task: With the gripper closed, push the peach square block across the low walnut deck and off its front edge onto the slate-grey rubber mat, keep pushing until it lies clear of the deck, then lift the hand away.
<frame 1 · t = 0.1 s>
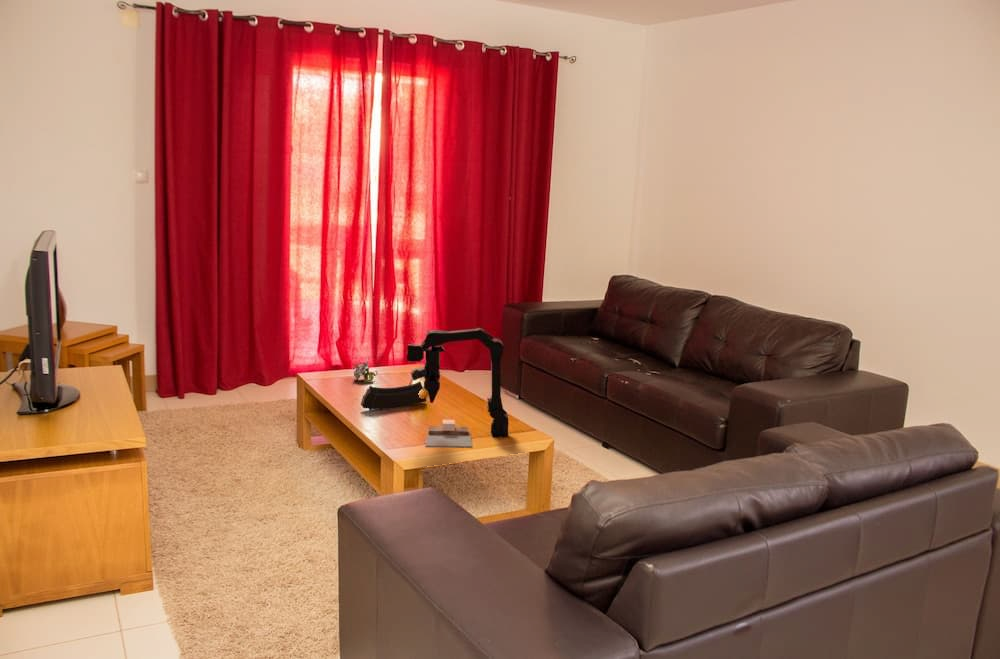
hand: (431, 399, 329), 15 cm above the table, tool pointing down, fingers open, 9 cm apart
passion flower: (364, 380, 406), on the table
deck: (448, 433, 334), on the table
peach square block: (448, 428, 333), point 2 cm above the table, touching deck
mat: (448, 441, 324), on the table
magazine: (394, 408, 365), on the table
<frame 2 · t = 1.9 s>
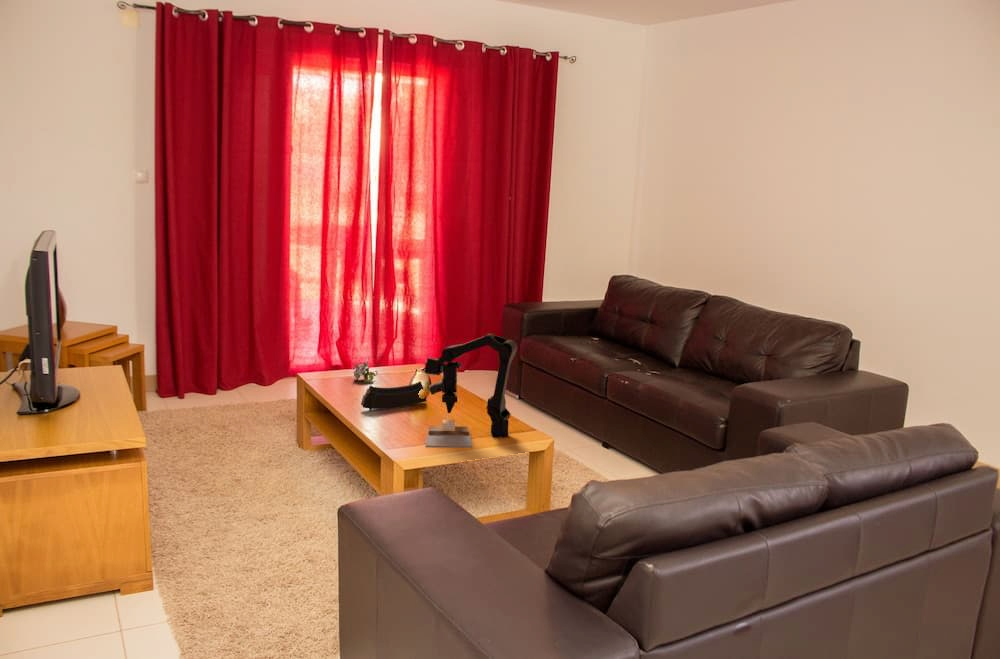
hand: (449, 412, 340), 6 cm above the table, tool pointing down, fingers closed
nothing on the table moved.
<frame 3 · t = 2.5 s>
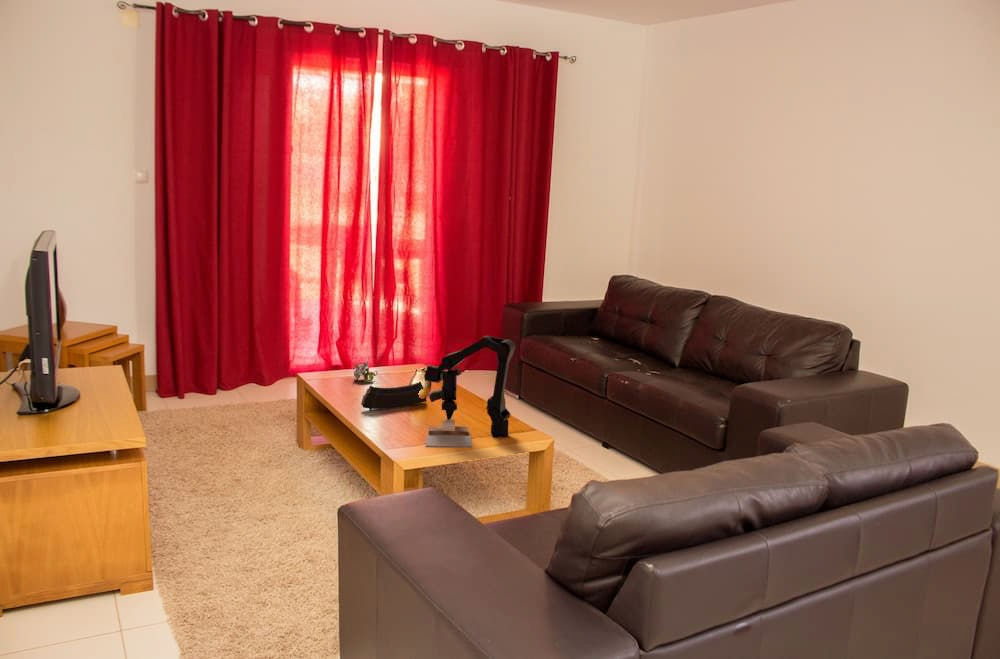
hand: (448, 420, 341), 3 cm above the table, tool pointing down, fingers closed
nothing on the table moved.
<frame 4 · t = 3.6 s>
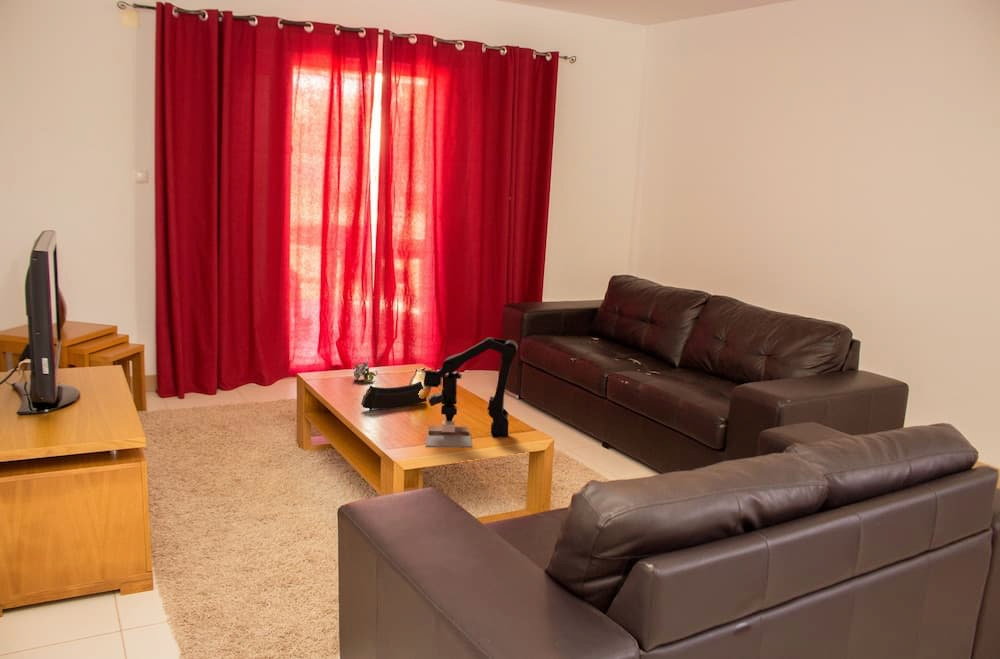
hand: (448, 424, 335), 3 cm above the table, tool pointing down, fingers closed
peach square block: (448, 430, 332), point 2 cm above the table, touching deck, gripper
everything else where it was.
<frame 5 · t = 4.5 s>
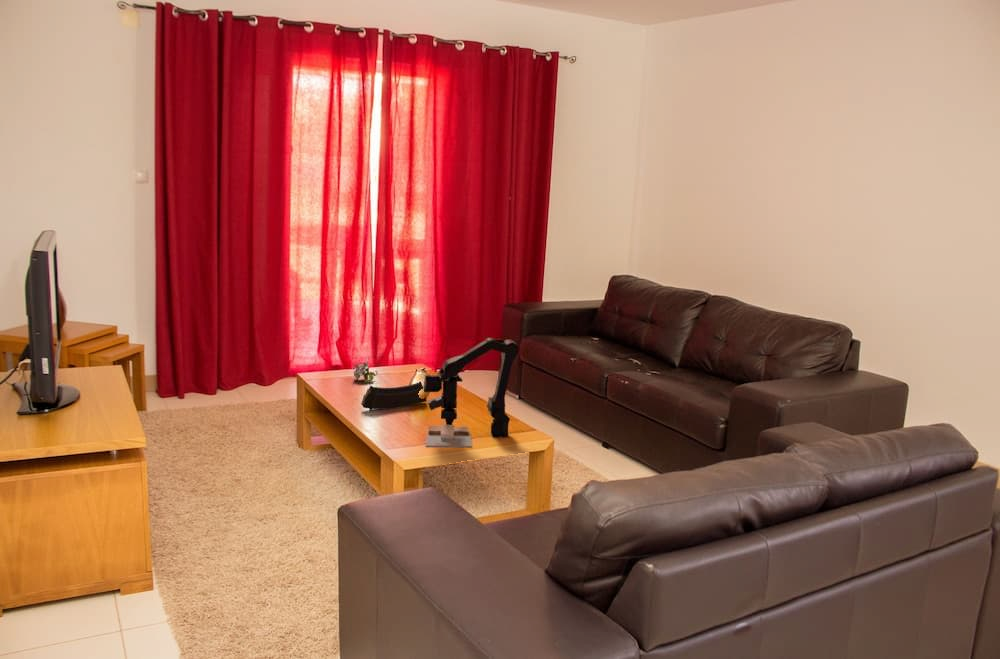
hand: (448, 428, 329), 3 cm above the table, tool pointing down, fingers closed, pressing on peach square block
peach square block: (447, 434, 327), point 2 cm above the table, tilted 28°, touching gripper
everything else where it was.
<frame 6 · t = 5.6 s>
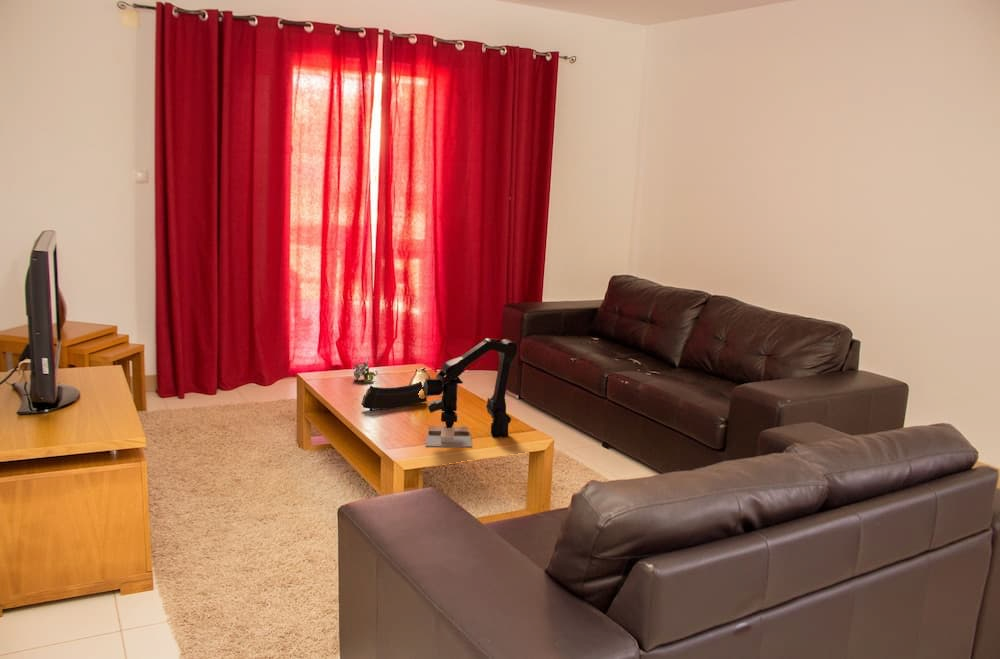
hand: (448, 431, 325), 3 cm above the table, tool pointing down, fingers closed
peach square block: (447, 437, 324), point 2 cm above the table, tilted 28°, touching gripper, mat
everything else where it was.
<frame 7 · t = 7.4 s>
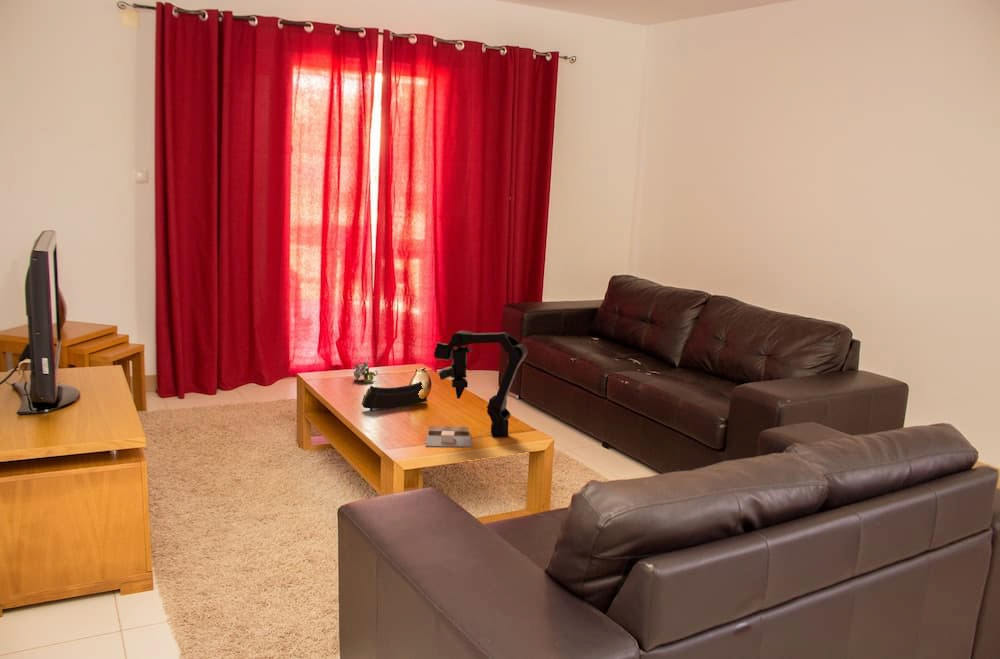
hand: (458, 398, 337), 13 cm above the table, tool pointing down, fingers closed
peach square block: (447, 440, 324), resting on mat
everything else where it was.
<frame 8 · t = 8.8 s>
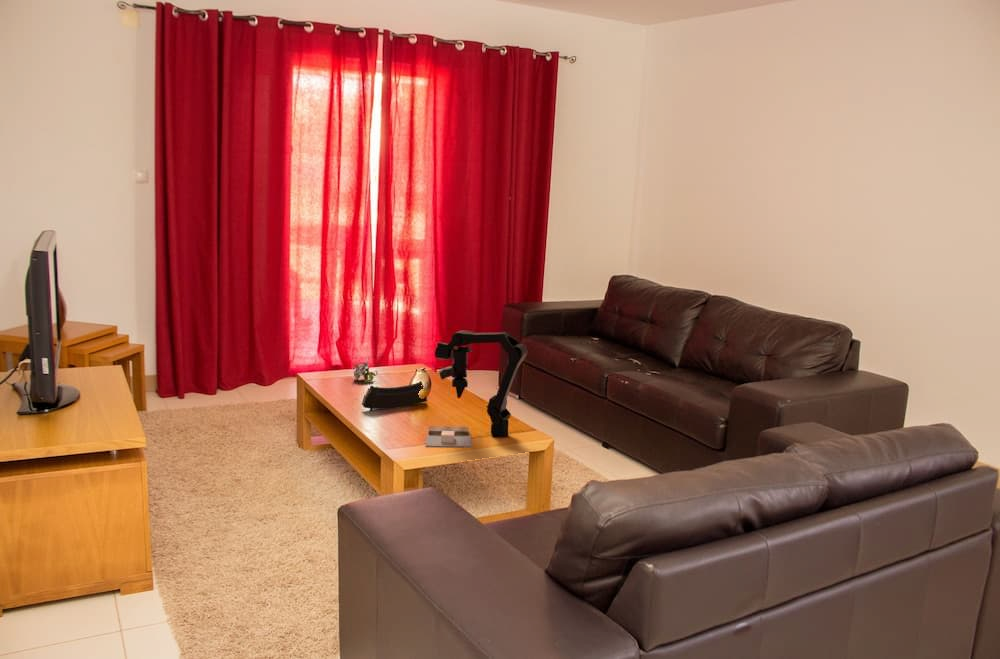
hand: (458, 397, 338), 13 cm above the table, tool pointing down, fingers closed
nothing on the table moved.
at the end: peach square block inside the target area (0.7 cm from its centre), point 0.5 cm above the table; peach square block touching mat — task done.
